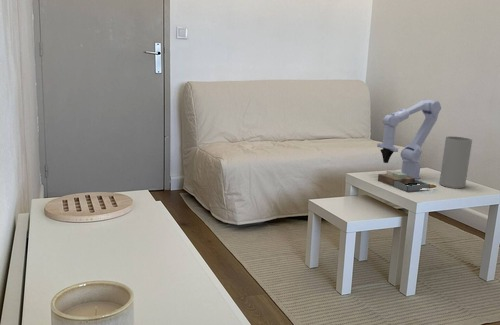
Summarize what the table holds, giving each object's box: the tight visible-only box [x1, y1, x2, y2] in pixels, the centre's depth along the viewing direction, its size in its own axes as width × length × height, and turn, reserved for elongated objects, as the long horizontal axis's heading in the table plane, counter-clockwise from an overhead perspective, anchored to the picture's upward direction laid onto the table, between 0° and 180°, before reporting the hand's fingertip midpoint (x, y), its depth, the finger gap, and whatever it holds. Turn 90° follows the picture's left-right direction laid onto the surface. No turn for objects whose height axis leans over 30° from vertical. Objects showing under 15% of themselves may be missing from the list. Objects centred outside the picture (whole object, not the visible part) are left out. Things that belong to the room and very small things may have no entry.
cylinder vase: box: [439, 135, 473, 189], centre depth 246 cm, size 12×12×25 cm
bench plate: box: [377, 173, 415, 188], centre depth 248 cm, size 14×12×4 cm
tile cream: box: [386, 169, 400, 176], centre depth 250 cm, size 5×4×2 cm
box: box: [393, 179, 431, 193], centre depth 238 cm, size 14×10×3 cm
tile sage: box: [393, 171, 407, 179], centre depth 245 cm, size 5×4×2 cm
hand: (385, 162), depth 255 cm, fingers closed
